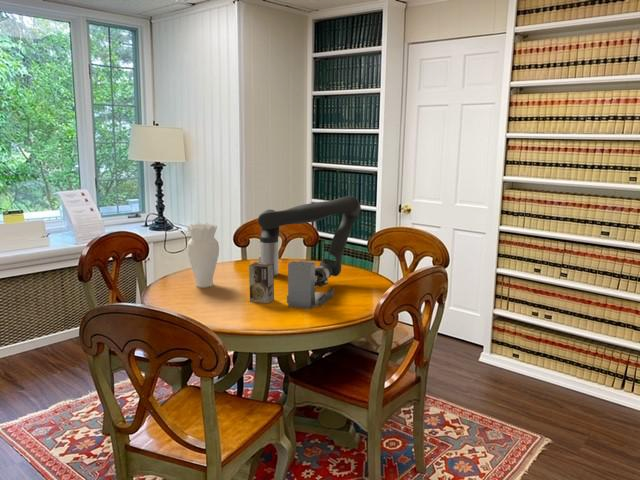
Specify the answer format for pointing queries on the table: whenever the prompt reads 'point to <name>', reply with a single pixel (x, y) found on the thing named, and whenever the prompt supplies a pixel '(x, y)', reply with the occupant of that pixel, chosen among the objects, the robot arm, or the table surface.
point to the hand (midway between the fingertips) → (305, 285)
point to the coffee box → (261, 282)
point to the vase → (203, 252)
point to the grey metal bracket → (304, 286)
